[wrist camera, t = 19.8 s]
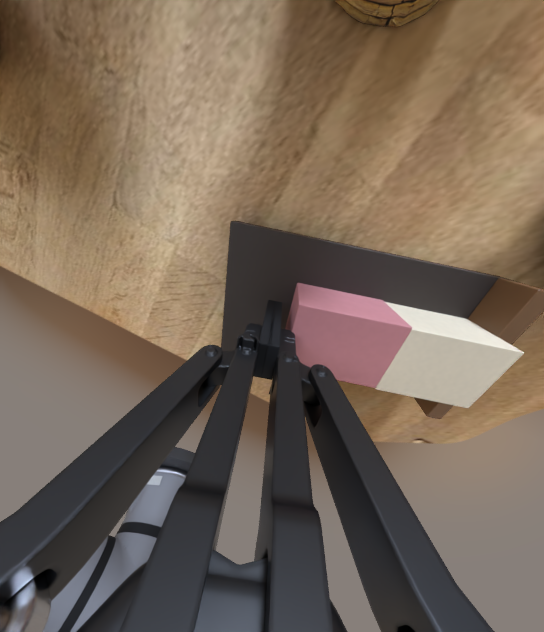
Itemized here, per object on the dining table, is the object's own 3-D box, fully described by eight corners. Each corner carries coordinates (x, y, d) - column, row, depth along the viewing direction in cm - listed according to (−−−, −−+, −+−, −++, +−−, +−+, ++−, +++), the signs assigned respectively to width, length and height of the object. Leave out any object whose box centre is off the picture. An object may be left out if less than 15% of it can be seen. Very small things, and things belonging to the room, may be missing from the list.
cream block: (430, 367, 21) (468, 408, 16) (356, 352, 21) (374, 389, 16) (467, 318, 18) (525, 352, 13) (382, 301, 18) (412, 329, 13)
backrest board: (415, 385, 24) (440, 419, 20) (224, 346, 24) (210, 372, 20) (498, 276, 17) (561, 294, 13) (235, 220, 17) (218, 222, 13)
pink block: (357, 351, 20) (375, 388, 16) (283, 336, 20) (281, 369, 16) (382, 299, 18) (413, 327, 13) (297, 282, 18) (298, 304, 13)
